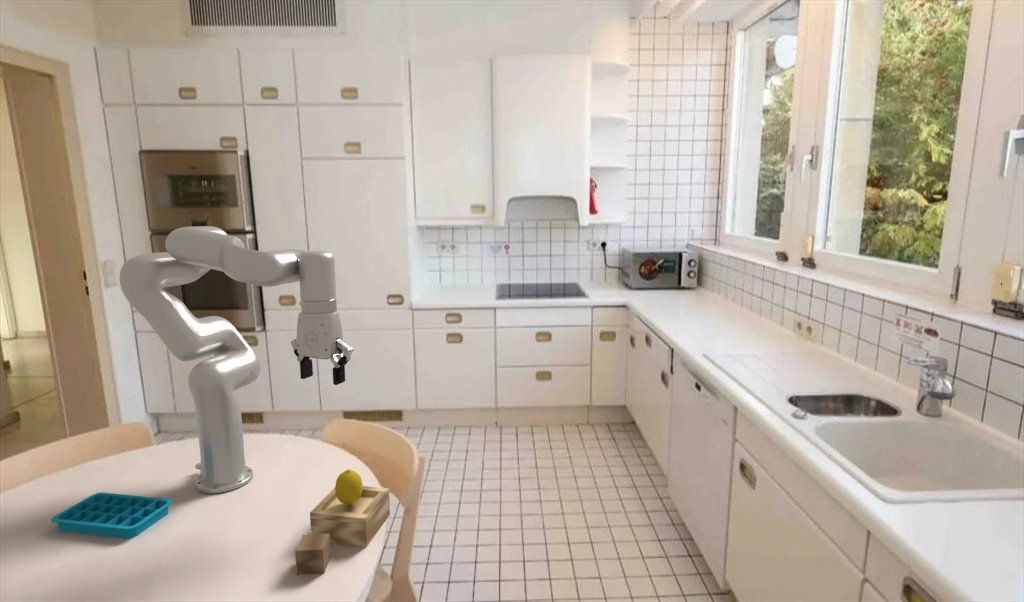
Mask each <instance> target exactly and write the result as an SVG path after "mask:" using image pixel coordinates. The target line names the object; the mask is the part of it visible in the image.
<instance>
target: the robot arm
mask: <svg viewBox="0 0 1024 602" xmlns="http://www.w3.org/2000/svg"><path fill="white" fill-rule="evenodd" d="M165 249H166V251H165V252H164V251H163V252H162V251H161V252H152V253H151V252H150V253H143V254H138V255H135V256H133V257H130V258H128V259H127V260H126V261H124V263H123V264H122V266H121V268H120V271H119V284H120V285H119V286H120V289H121V292H122V294H123V296H124V297H125V299H126V300H127V301H128V303H129V304H130V306H132V307H133V308H134V309H135V310H136V311H137V312H138V313H139V314H140V315H141V316H142V317H143V318H144V319H145V320H146V322H147V323H148V324H149V325H150V327H151V328H152V329H153V331H154V332H155V333H156V335H157V336H158V338H160V340H161V341H162V342H163V344H164V345H165V347H166V348H167V349H168V350H169V351H170V352H171V354H172V355H173V356H174V357H175V358H176V359H177V360H179V361H180V362H181V361H182V362H191V361H192V362H193V361H197V360H199V359H202V358H205V357H208V356H211V355H213V356H211V357H210V358H209V357H208V358H206V359H204V360H202V361H200V362H198V363H196V365H194V366H193V367H192V368H191V370H190V371H189V374H188V377H187V383H188V387H189V390H190V393H191V396H192V399H193V405H194V409H195V416H196V425H197V434H198V443H199V445H198V446H199V455H200V456H199V457H200V463H199V462H198V463H196V464H195V466H194V467H195V469H197V470H200V471H199V472H200V476H199V477H198V478H196V481H195V489H196V490H198V491H199V492H201V493H206V494H220V493H225V492H230V491H233V490H236V489H238V488H239V489H240V487H243V486H245V485H247V484H248V483H249V482H250V481H251V480H252V478H253V476H254V473H253V472H254V471H253V469H252V468H251V467H249V466H246V458H245V457H246V456H245V445H244V444H245V443H244V433H243V432H244V431H243V419H242V409H241V406H240V404H239V402H238V401H237V400H236V398H235V397H234V394H233V392H236V390H239V389H241V388H243V387H247V386H248V385H249V384H252V383H253V382H255V381H256V380H257V379H258V378H259V376H260V374H261V362H260V361H259V358H258V356H257V355H256V353H255V351H254V350H253V349H252V347H251V346H250V345H249V344H248V342H247V341H246V340H245V338H243V335H241V333H240V332H239V331H238V330H237V328H236V327H235V325H233V324H232V323H231V321H229V320H227V318H224V317H222V316H218V315H209V316H204V317H201V318H198V317H196V316H194V314H192V312H191V311H190V309H189V308H188V307H187V306H186V305H185V303H184V302H183V301H181V300H180V299H179V298H178V297H176V296H175V295H173V294H171V293H169V292H167V290H165V289H164V288H171V287H176V286H182V285H187V284H190V283H193V282H195V281H198V280H199V279H200V278H201V277H202V276H204V275H205V274H207V273H208V272H210V270H215V271H218V272H223V273H224V274H225V275H226V276H228V277H229V278H231V279H232V280H234V281H236V282H241V283H244V284H249V285H255V286H259V287H266V288H269V287H270V288H271V287H277V286H282V285H285V284H286V285H288V284H292V283H297V282H299V294H300V295H299V297H300V300H299V304H298V305H300V309H301V311H300V312H299V313H298V316H297V317H298V318H297V321H296V323H297V324H296V338H295V339H293V340H291V341H290V344H291V348H292V349H293V353H294V355H295V356H296V357H297V362H298V363H299V372H300V380H305V379H308V378H311V377H312V376H314V369H313V359H319V360H330V361H331V363H332V364H333V366H334V367H332V383H333V385H334V386H337V385H340V384H342V383H345V382H346V367H345V366H347V365H348V362H349V361H350V360H351V356H352V353H353V352H354V349H353V347H351V346H350V345H349V344H347V343H346V342H344V337H343V336H344V333H343V328H342V322H341V319H340V314H339V312H338V310H337V307H338V306H337V290H336V288H337V287H336V264H335V263H336V262H335V256H334V255H333V253H332V252H330V251H326V250H325V251H324V250H323V251H321V250H316V251H315V250H310V251H307V250H301V249H295V248H293V249H292V248H291V249H280V250H279V249H278V250H271V251H261V250H256V249H250V248H246V247H245V244H244V242H243V241H242V239H240V238H239V237H238V236H235V235H231V234H228V233H227V232H226V231H224V230H223V229H222V228H219V227H216V226H211V225H205V226H204V225H203V226H202V225H200V226H199V225H196V226H184V227H183V226H181V227H178V228H176V229H174V230H172V231H171V232H169V234H168V235H167V237H166V238H165ZM310 358H311V359H310Z"/></svg>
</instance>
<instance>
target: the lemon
mask: <svg viewBox="0 0 1024 602" xmlns="http://www.w3.org/2000/svg"><path fill="white" fill-rule="evenodd" d="M362 480H363V479H362V477H361V476H360V474H359V473H358V472H357V471H355V470H352V469H346V470H345V471H343V472H341V473H339V475H338V476H337V479H336V481H335V486H334V488H335V492H336V496H337V498H338V500H339V501H340V502H342V503H344V504H347V505H352V503H354V502H356V501H357V500H358V499H359V498H360V496H361V494H362V488H363V486H364V485H363V481H362Z"/></svg>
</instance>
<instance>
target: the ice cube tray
mask: <svg viewBox="0 0 1024 602" xmlns="http://www.w3.org/2000/svg"><path fill="white" fill-rule="evenodd" d="M173 503H174V500H173V499H172V498H163V497H153V496H145V495H144V496H142V495H133V494H123V493H114V492H112V493H111V492H102V491H101V492H96V493H94V494H93V493H92V494H91V495H89V496H88V497H86V498H84V499H82V500H81V501H79V502H77V503H75V504H74V505H72V506H70V507H68V508H67V509H65V510H63V511H61V512H60V513H58V514H55V515H54V516H53V517H51V519H50V521H51V523H54V524H55V523H57V525H58V529H59V531H61V532H71V533H78V534H88V535H97V536H104V537H105V536H107V537H115V538H122V539H123V538H124V539H132V538H133V539H134V538H136V537H137V536H139V535H140V534H142V533H143V532H145V531H147V530H148V529H149V528H150V527H152V526H153V525H155V524H156V523H158V522H159V521H161V520H162V519H163V518H165V517H166V516H168V515H169V506H171V505H173Z"/></svg>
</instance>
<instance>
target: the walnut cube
mask: <svg viewBox="0 0 1024 602" xmlns="http://www.w3.org/2000/svg"><path fill="white" fill-rule="evenodd" d="M294 552H295V553H294V554H295V568H296V572H295V573H296V575H297V576H299V575H317V574H325V573H326V569H327V567H328V565H329V561H330V559H331V557H332V556H331V543H330V534H329V533H328V534H311V533H310V534H302V536H301V538H300V540H299V542H298V544H297V546H296V548H295V549H294Z"/></svg>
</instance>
